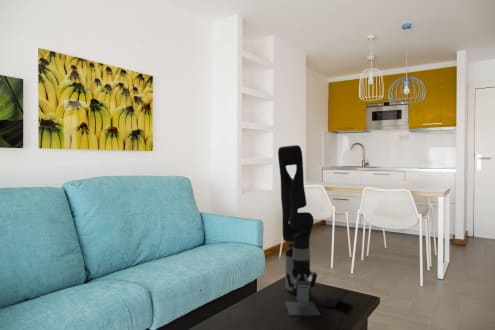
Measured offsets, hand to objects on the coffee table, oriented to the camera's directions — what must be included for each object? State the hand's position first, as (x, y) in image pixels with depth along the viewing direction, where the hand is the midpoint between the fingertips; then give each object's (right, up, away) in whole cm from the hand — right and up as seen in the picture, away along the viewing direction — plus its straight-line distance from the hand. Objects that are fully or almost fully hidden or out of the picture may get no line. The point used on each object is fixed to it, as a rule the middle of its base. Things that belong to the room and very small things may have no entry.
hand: (301, 296), depth 159 cm
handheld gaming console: (+16, -6, +6) cm, 18 cm away
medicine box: (0, -2, 0) cm, 2 cm away
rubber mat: (0, -6, 0) cm, 6 cm away
